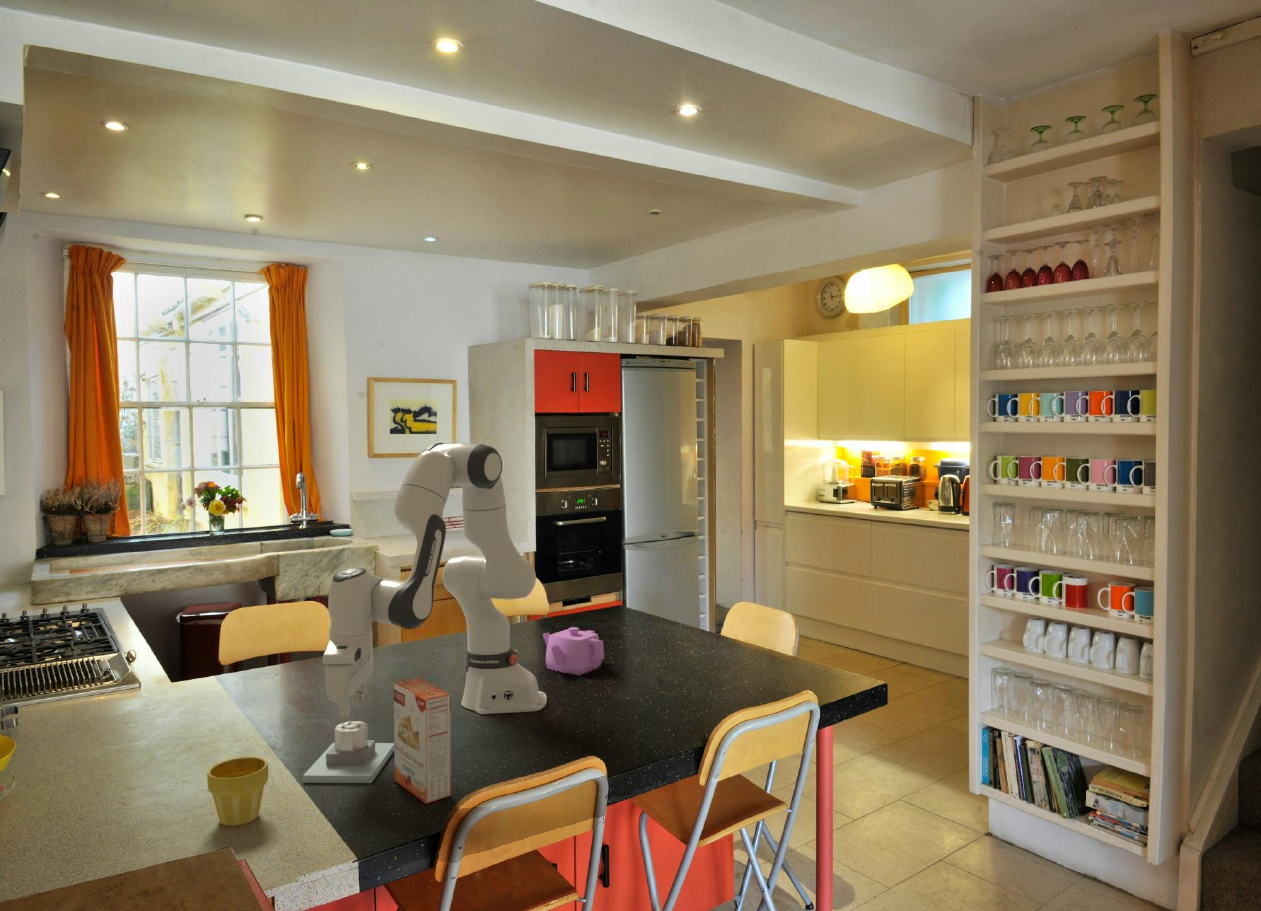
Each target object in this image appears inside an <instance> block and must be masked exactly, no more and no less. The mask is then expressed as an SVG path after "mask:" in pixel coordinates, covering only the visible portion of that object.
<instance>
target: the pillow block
mask: <svg viewBox="0 0 1261 911" xmlns="http://www.w3.org/2000/svg"><path fill="white" fill-rule="evenodd" d="M346 729H356V725H348V726H346ZM393 754H394V742H376V740H375V739H374V740H371V739H367V746H366V747H365V748H364V749H363V750H359V751H356V752H339V751H337V750H336V749H335V742H332V743H331V744H330V745H329V746H328V747H327V749H326V750H325V751H324V752H323V753H322V754H321V756H320V757H318V759H317V760H316V761H315V762H314V763H313V764H312V765H311V766H310V767H309V768H308V769H307V771H306V772H305V773H304V774H303V775H302V783H305V784H307V783H309V784H315V783H316V784H317V783H319V784H333V783H334V784H372V783H373V781H374V780H375V778H376V777H377V776H378V774H379V773H380V771H381V770H382V769H383V768H384V766H385V765H386V763H387V761H388V760H390V757H391V756H392V755H393Z"/></svg>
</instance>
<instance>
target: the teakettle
mask: <svg viewBox="0 0 1261 911" xmlns="http://www.w3.org/2000/svg"><path fill="white" fill-rule="evenodd" d="M595 632H596V631H594V630H589V629H588V630H580V628H579V627H575V626H572V627H569V628H568V629H567V628H566V629H565V630H561V631H558V632H554V633H552V634H550V633H551V632H545V633H542V637H543V640H544V643H545V646H546V650H545V651H546V652H545V665H546V668H548V669H547V670H549V669H551V670H550V671H553V670H554V671H553V672H557V671H559V672H558V673H561V672H562V673H563V674H566V673H569V674H568V675H573V674H575V675H574V676H582V674H584V673H586V674H588V673H587V672H588V671H591V672H593V671H592V670H593V669H596V668H598V667H599V666H600V667H601V665H602V660H604V659H605V652H604V650H605V649H604V640H601V639H600V637H599V634H598V633H595ZM598 669H599V668H598ZM596 670H597V669H596ZM570 673H571V674H570ZM584 675H585V674H584Z"/></svg>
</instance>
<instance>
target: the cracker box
mask: <svg viewBox="0 0 1261 911" xmlns="http://www.w3.org/2000/svg"><path fill="white" fill-rule="evenodd" d="M451 698H452V695H451V693H449V692H446V691H444V690H442V689H440V688H439V687H437V686H435V685H433V684H431V683H429V682H428V681H427V682H426V681H425V680H423V679H421V678H419V677H416V678H412V679H405V680H400V681H396V682H394V683H393V727H394V730H393V731H394V732H393V738H394V739H393V741H394V742H393V743H394V752H393V754H394V782H396V783H397V784H399V785H400V786H401V787H403V789H405V790H407V791H408V792H409V793H411V794H412V795H413V796H414V797H417V798H418V799H419V800H421V802H422V803H424V804H431V803H433V802H436V801H440V800H442V799H443V800H444V799H446V798H449V797H451V796H452V752H451V751H452V746H451V745H452V743H451V742H452V739H451V738H452V730H451V729H452V728H451V727H452V723H451V722H452V719H451V718H452V710H451V708H452V704H451V703H452V699H451Z"/></svg>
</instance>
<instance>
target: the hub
mask: <svg viewBox="0 0 1261 911" xmlns="http://www.w3.org/2000/svg"><path fill="white" fill-rule="evenodd" d="M348 725H356V729H346V726H348ZM367 740H368V723H365V722H364V721H361V720H359V721H358V720H357V721H354V720H353V721H351V720H349V721H345V722H343V723H342V722H341V723H339V724H337V726H335V728H334V743H335V749H336V750H337V751H339V752H356V751H359V750H363V749H364V748H365V747H366V746H367Z"/></svg>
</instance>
